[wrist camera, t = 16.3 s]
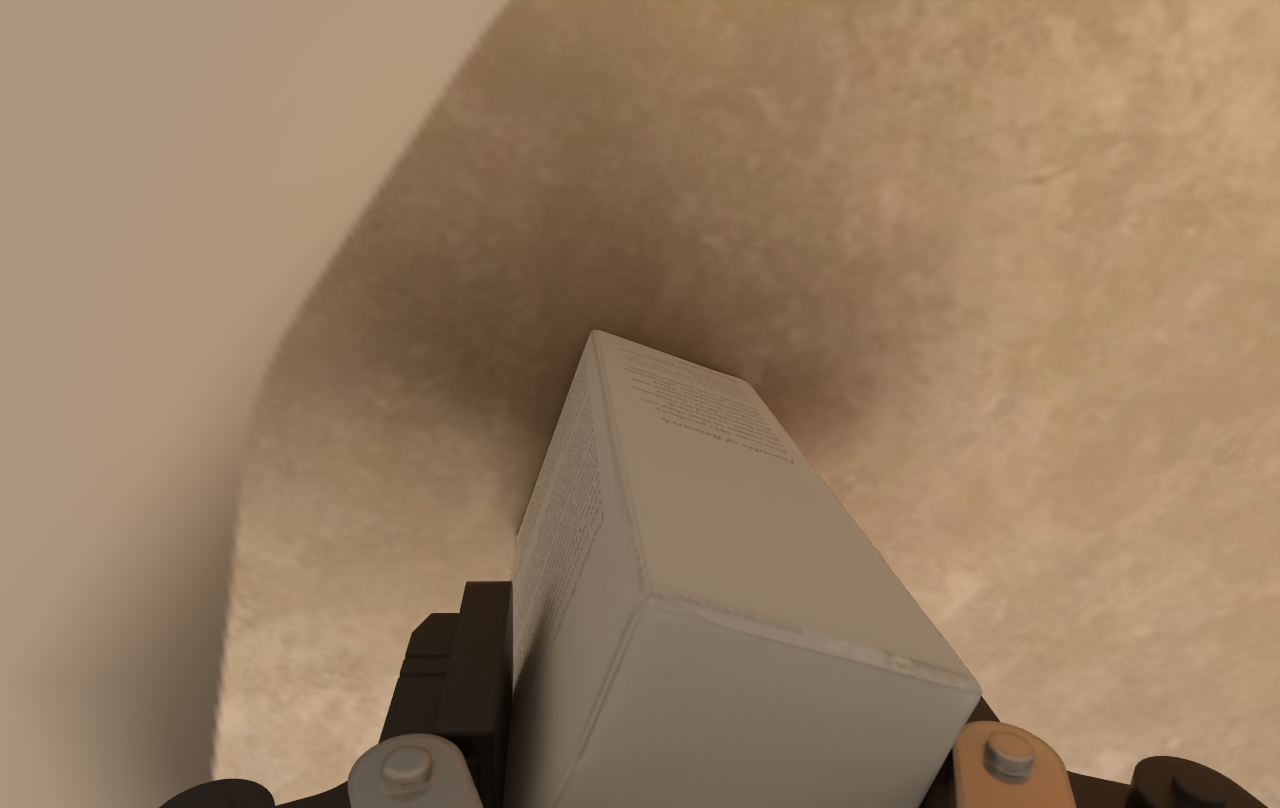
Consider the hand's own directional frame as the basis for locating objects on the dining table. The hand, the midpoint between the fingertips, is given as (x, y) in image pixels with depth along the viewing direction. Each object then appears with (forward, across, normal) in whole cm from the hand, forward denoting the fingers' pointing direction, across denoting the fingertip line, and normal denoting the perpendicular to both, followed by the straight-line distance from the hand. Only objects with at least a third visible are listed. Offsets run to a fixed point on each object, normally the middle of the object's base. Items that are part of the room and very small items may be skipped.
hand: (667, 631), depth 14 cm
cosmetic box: (+8, 0, 0) cm, 8 cm away
